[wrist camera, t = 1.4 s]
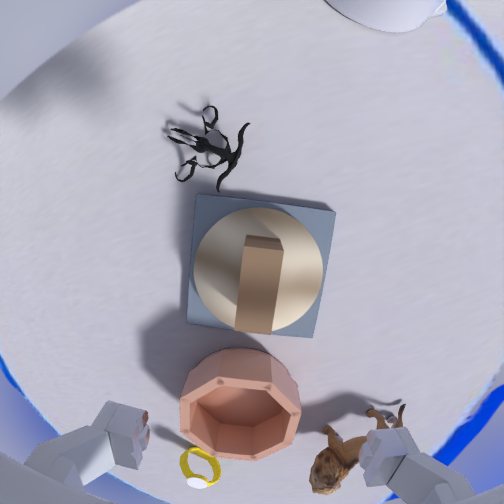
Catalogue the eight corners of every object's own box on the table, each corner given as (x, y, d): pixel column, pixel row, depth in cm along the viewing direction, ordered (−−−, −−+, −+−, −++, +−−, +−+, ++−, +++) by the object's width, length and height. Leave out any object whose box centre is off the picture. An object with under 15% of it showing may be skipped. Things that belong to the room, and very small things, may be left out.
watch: (182, 446, 38) (171, 474, 32) (193, 438, 37) (183, 467, 31) (215, 467, 38) (207, 496, 32) (227, 460, 38) (220, 490, 32)
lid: (201, 200, 29) (187, 205, 23) (330, 216, 29) (347, 225, 23) (192, 319, 32) (178, 348, 26) (308, 333, 32) (318, 364, 26)
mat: (198, 193, 30) (196, 194, 29) (333, 211, 30) (336, 212, 29) (188, 319, 33) (186, 323, 32) (311, 333, 33) (312, 338, 32)
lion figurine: (312, 456, 37) (320, 505, 29) (296, 437, 36) (303, 488, 28) (407, 411, 35) (431, 455, 27) (399, 388, 34) (425, 433, 26)
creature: (161, 172, 31) (230, 203, 29) (132, 166, 25) (209, 202, 24) (193, 101, 29) (264, 126, 28) (168, 83, 24) (251, 109, 22)
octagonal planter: (192, 340, 33) (180, 370, 27) (302, 353, 33) (309, 385, 27) (189, 418, 36) (180, 451, 30) (283, 429, 36) (286, 462, 30)
